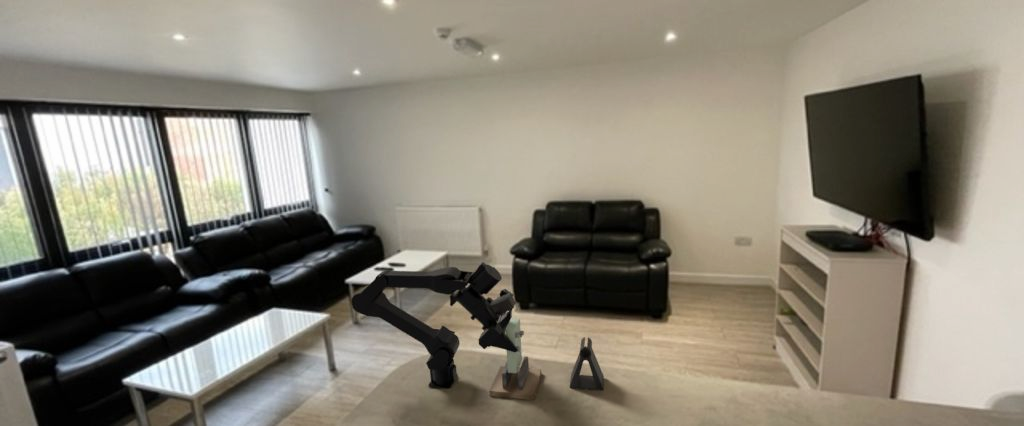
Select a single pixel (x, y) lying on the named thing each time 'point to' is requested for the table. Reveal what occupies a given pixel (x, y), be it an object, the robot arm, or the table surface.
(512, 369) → the door panel
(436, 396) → the table surface
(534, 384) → the hinge base
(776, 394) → the table surface
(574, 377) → the grey triangular stand
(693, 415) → the table surface
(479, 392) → the table surface
